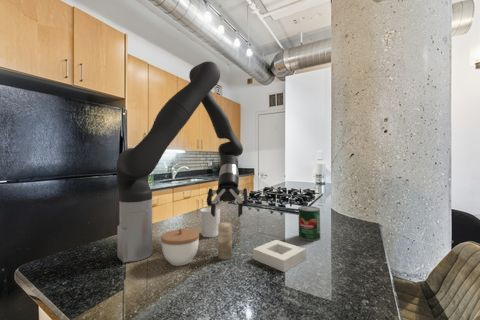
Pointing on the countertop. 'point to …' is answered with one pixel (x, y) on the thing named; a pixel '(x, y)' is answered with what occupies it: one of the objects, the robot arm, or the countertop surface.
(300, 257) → the beige socket block
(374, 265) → the countertop surface
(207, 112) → the robot arm
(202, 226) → the white cup
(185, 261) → the lidded jar
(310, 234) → the canned tomato
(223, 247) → the birch peg
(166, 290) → the countertop surface
